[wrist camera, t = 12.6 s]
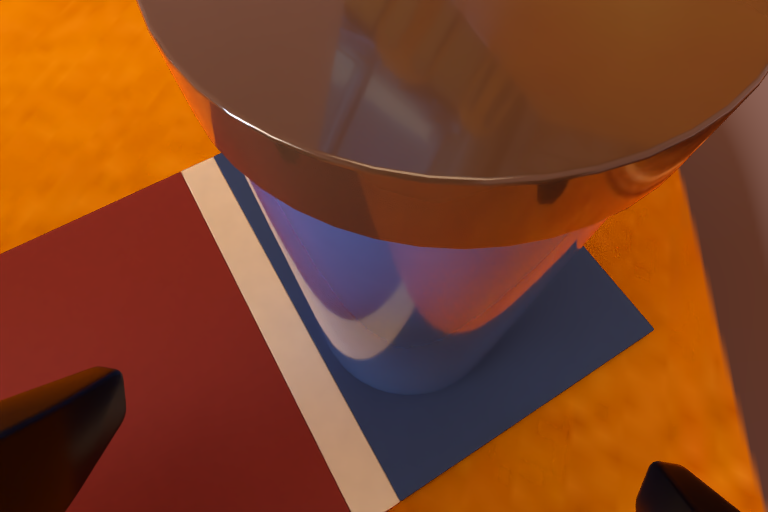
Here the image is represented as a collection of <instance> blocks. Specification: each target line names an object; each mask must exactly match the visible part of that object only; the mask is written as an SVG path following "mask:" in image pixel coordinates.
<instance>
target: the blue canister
mask: <svg viewBox="0 0 768 512" xmlns="http://www.w3.org/2000/svg"><path fill="white" fill-rule="evenodd" d="M136 2H137V4H138V7H139V9H140V12H141V14H142V17H143V19H144V22H145V24H146V26H147V29H148V31H149V33H150V35H151V37H152V39H153V41H154V42H155V44H156V46H157V48H158V50H159V52H160V53H161V55H162V57H163V59H164V61H165V62H166V64H167V66H168V68H169V70H170V72H171V73H172V75H173V77H174V79H175V81H176V82H177V84H178V86H179V88H180V90H181V92H182V93H183V95H184V97H185V99H186V101H187V102H188V104H189V106H190V108H191V110H192V112H193V113H194V115H195V117H196V118H197V120H198V121H199V123H200V124H201V126H202V128H203V129H204V131H205V132H206V134H207V135H208V137H209V138H210V140H211V142H212V143H213V144H214V145H215V146H216V147H217V148H218V149H219V150H220V151H221V153H222V154H223V155H224V156H225V157H226V158H227V159H228V160H229V161H230V163H231V164H232V165H233V166H234V167H235V168H237V169H238V170H239V171H240V172H241V173H243V174H244V175H245V177H246V179H247V181H248V183H249V185H250V187H251V189H252V191H253V193H254V195H255V197H256V200H257V202H258V204H259V206H260V208H261V210H262V212H263V214H264V216H265V218H266V220H267V222H268V224H269V226H270V228H271V230H272V232H273V234H274V236H275V238H276V240H277V242H278V244H279V246H280V248H281V250H282V252H283V254H284V256H285V259H286V261H287V263H288V265H289V267H290V269H291V271H292V273H293V275H294V277H295V279H296V281H297V283H298V285H299V287H300V289H301V291H302V293H303V295H304V297H305V299H306V301H307V303H308V305H309V307H310V309H311V311H312V313H313V315H314V318H315V320H316V322H317V324H318V326H319V328H320V330H321V332H322V334H323V336H324V338H325V340H326V342H327V344H328V346H329V348H330V350H331V351H332V353H333V354H334V356H335V358H336V359H337V360H338V361H339V362H340V364H341V365H342V366H343V367H344V368H345V369H346V370H347V371H348V372H349V373H351V374H352V375H353V376H354V377H356V378H357V379H359V380H360V381H362V382H363V383H365V384H367V385H369V386H371V387H373V388H376V389H379V390H381V391H384V392H388V393H393V394H399V395H421V394H427V393H432V392H436V391H439V390H442V389H444V388H447V387H449V386H451V385H453V384H455V383H457V382H458V381H460V380H461V379H463V378H464V377H465V376H467V375H468V374H469V373H470V372H471V371H472V370H473V369H474V368H475V367H476V366H477V365H478V364H479V363H480V362H481V361H482V360H483V358H484V357H485V356H486V355H487V354H488V353H489V352H490V351H491V349H492V348H493V347H494V346H495V345H496V344H497V343H498V341H499V340H500V339H501V338H502V337H503V336H504V335H505V334H506V332H507V331H508V330H509V329H510V328H511V327H512V326H513V325H514V323H515V322H516V321H517V320H518V319H519V318H520V317H521V316H522V314H523V313H524V312H525V311H526V310H527V309H528V308H529V306H530V305H531V304H532V303H533V302H534V301H535V300H536V299H537V297H538V296H539V295H540V294H541V293H542V292H543V291H544V290H545V288H546V287H547V286H548V285H549V284H550V283H551V282H552V281H553V279H554V278H555V277H556V276H557V275H558V274H559V273H560V271H561V270H562V269H563V268H564V267H565V266H566V265H567V264H568V262H569V261H570V260H571V259H572V258H573V257H574V256H575V255H576V253H577V252H578V251H579V250H580V249H581V248H582V247H583V246H584V244H585V243H586V242H587V241H588V240H589V239H590V238H591V236H592V235H593V234H594V233H595V232H596V231H597V230H598V229H599V227H600V226H601V225H602V224H603V223H604V222H605V221H606V220H607V218H608V217H610V216H612V215H614V214H616V213H618V212H620V211H622V210H625V209H627V208H628V207H630V206H631V205H633V204H634V203H636V202H637V201H639V200H640V199H642V198H643V197H644V196H646V195H647V194H649V193H650V192H652V191H653V190H655V189H656V188H658V187H659V186H660V185H661V184H662V183H663V182H664V181H665V180H666V179H667V178H668V177H669V176H670V175H671V174H673V173H674V172H675V171H676V170H677V169H678V168H679V167H680V166H681V165H682V164H683V163H684V162H685V161H686V160H687V159H688V158H689V157H690V155H692V154H693V153H694V151H696V150H697V149H698V148H699V147H700V146H701V145H702V144H703V142H704V141H705V140H706V139H707V138H708V137H709V136H710V135H711V134H712V133H713V132H714V131H715V130H716V129H717V128H718V127H719V126H720V125H721V124H722V123H723V122H724V121H725V120H726V119H727V118H728V117H729V116H730V115H731V114H732V113H733V112H734V111H735V110H736V109H737V108H738V107H739V106H740V104H741V103H742V102H743V101H744V100H745V99H746V98H747V97H748V96H749V95H750V94H751V93H752V92H753V91H754V90H755V89H756V88H757V87H758V86H759V84H760V83H761V82H762V80H763V79H764V77H765V76H766V75H767V73H768V0H136Z"/></svg>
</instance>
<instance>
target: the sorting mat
mask: <svg viewBox="0 0 768 512" xmlns="http://www.w3.org/2000/svg"><path fill="white" fill-rule="evenodd" d="M653 330H654V328H653V327H652V326H651V325H650V324H649V322H648V321H647V320H646V319H645V318H644V316H643V315H642V314H641V313H640V312H639V311H638V309H637V308H636V307H635V306H634V305H633V304H632V302H631V301H630V300H629V299H628V298H627V297H626V295H625V294H624V293H623V292H622V291H621V290H620V288H619V287H618V286H617V285H616V284H615V283H614V281H613V280H612V279H611V278H610V277H609V276H608V274H607V273H606V272H605V271H604V270H603V269H602V267H601V266H600V265H599V264H598V263H597V261H596V260H595V259H594V258H593V257H592V256H591V254H590V253H589V252H588V251H587V250H586V249H585V247H584V246H583V247H582V248H581V249H580V250H579V251H578V252H577V253H576V255H575V256H574V257H573V258H572V259H571V260H570V261H569V262H568V264H567V265H566V266H565V267H564V268H563V269H562V270H561V271H560V273H559V274H558V275H557V276H556V277H555V278H554V279H553V281H552V282H551V283H550V284H549V285H548V286H547V287H546V288H545V290H544V291H543V292H542V293H541V294H540V295H539V296H538V297H537V299H536V300H535V301H534V302H533V303H532V304H531V305H530V306H529V308H528V309H527V310H526V311H525V312H524V313H523V314H522V316H521V317H520V318H519V319H518V320H517V321H516V322H515V323H514V325H513V326H512V327H511V328H510V329H509V330H508V331H507V332H506V334H505V335H504V336H503V337H502V338H501V339H500V340H499V341H498V343H497V344H496V345H495V346H494V347H493V348H492V349H491V351H490V352H489V353H488V354H487V355H486V356H485V357H484V358H483V360H482V361H481V362H480V363H479V364H478V365H477V366H476V367H475V368H474V369H473V370H472V371H471V372H470V373H469V374H468V375H467V376H465V377H464V378H463V379H461V380H460V381H458V382H457V383H455V384H453V385H451V386H449V387H447V388H444V389H442V390H439V391H436V392H432V393H427V394H421V395H399V394H393V393H388V392H384V391H381V390H379V389H376V388H373V387H371V386H369V385H367V384H365V383H363V382H362V381H360V380H359V379H357V378H356V377H354V376H353V375H352V374H351V373H349V372H348V371H347V370H346V369H345V368H344V367H343V366H342V365H341V364H340V362H339V361H338V360H337V359H336V358H335V356H334V354H333V353H332V351H331V350H330V348H329V346H328V344H327V342H326V340H325V338H324V336H323V334H322V332H321V330H320V328H319V326H318V324H317V322H316V320H315V318H314V315H313V313H312V311H311V309H310V307H309V305H308V303H307V301H306V299H305V297H304V295H303V293H302V291H301V289H300V287H299V285H298V283H297V281H296V279H295V277H294V275H293V273H292V271H291V269H290V267H289V265H288V263H287V261H286V259H285V256H284V254H283V252H282V250H281V248H280V246H279V244H278V242H277V240H276V238H275V236H274V234H273V232H272V230H271V228H270V226H269V224H268V222H267V220H266V218H265V216H264V214H263V212H262V210H261V208H260V206H259V204H258V202H257V200H256V197H255V195H254V193H253V191H252V189H251V187H250V185H249V183H248V181H247V179H246V177H245V175H244V174H243V173H241V172H240V171H239V170H238V169H237V168H235V167H234V166H233V165H232V164H231V163H230V161H229V160H228V159H227V158H226V157H225V156H224V155H223V154H222V153H220V154H218V155H216V156H214V157H212V158H209V159H207V160H205V161H203V162H201V163H198V164H196V165H194V166H192V167H190V168H188V169H185V170H183V171H181V172H179V173H177V174H174V175H172V176H170V177H168V178H166V179H164V180H161V181H159V182H157V183H155V184H153V185H150V186H148V187H146V188H144V189H142V190H140V191H137V192H135V193H133V194H131V195H129V196H126V197H124V198H122V199H120V200H118V201H116V202H113V203H111V204H109V205H107V206H105V207H102V208H100V209H98V210H96V211H94V212H92V213H89V214H87V215H85V216H83V217H81V218H78V219H76V220H74V221H72V222H70V223H68V224H65V225H63V226H61V227H59V228H57V229H54V230H52V231H50V232H48V233H46V234H44V235H41V236H39V237H37V238H35V239H33V240H30V241H28V242H26V243H24V244H22V245H20V246H17V247H15V248H13V249H11V250H9V251H6V252H4V253H2V254H0V400H3V399H6V398H8V397H11V396H14V395H17V394H20V393H22V392H25V391H28V390H31V389H33V388H36V387H39V386H42V385H45V384H47V383H50V382H53V381H56V380H58V379H61V378H64V377H67V376H70V375H72V374H75V373H78V372H81V371H83V370H86V369H89V368H92V367H95V366H102V367H108V368H114V369H118V370H119V371H121V373H122V374H123V378H124V388H125V397H126V414H125V418H124V420H123V422H122V424H121V426H120V427H119V429H118V430H117V432H116V434H115V435H114V437H113V438H112V440H111V442H110V443H109V445H108V446H107V448H106V449H105V451H104V453H103V454H102V456H101V457H100V459H99V461H98V462H97V464H96V465H95V467H94V469H93V470H92V472H91V473H90V475H89V477H88V478H87V480H86V481H85V483H84V485H83V486H82V488H81V489H80V491H79V492H78V494H77V495H76V497H75V498H74V500H73V501H72V503H71V504H70V506H69V507H68V508H67V510H66V511H65V512H386V511H387V510H389V509H390V508H392V507H393V506H395V505H396V504H398V503H399V502H400V501H402V500H403V499H405V498H406V497H408V496H409V495H411V494H412V493H414V492H415V491H417V490H418V489H420V488H421V487H423V486H424V485H426V484H427V483H429V482H430V481H431V480H433V479H434V478H436V477H437V476H439V475H440V474H442V473H443V472H445V471H446V470H448V469H449V468H451V467H452V466H454V465H455V464H457V463H458V462H460V461H461V460H463V459H464V458H465V457H467V456H468V455H470V454H471V453H473V452H474V451H476V450H477V449H479V448H480V447H482V446H483V445H485V444H486V443H488V442H489V441H491V440H492V439H494V438H495V437H497V436H498V435H499V434H501V433H502V432H504V431H505V430H507V429H508V428H510V427H511V426H513V425H514V424H516V423H517V422H519V421H520V420H522V419H523V418H525V417H526V416H528V415H529V414H530V413H532V412H533V411H535V410H536V409H538V408H539V407H541V406H542V405H544V404H545V403H547V402H548V401H550V400H551V399H553V398H554V397H556V396H557V395H559V394H560V393H562V392H563V391H564V390H566V389H567V388H569V387H570V386H572V385H573V384H575V383H576V382H578V381H579V380H581V379H582V378H584V377H585V376H587V375H588V374H590V373H591V372H593V371H594V370H595V369H597V368H598V367H600V366H601V365H603V364H604V363H606V362H607V361H609V360H610V359H612V358H613V357H615V356H616V355H618V354H619V353H621V352H622V351H624V350H625V349H627V348H628V347H629V346H631V345H632V344H634V343H635V342H637V341H638V340H640V339H641V338H643V337H644V336H646V335H647V334H649V333H650V332H652V331H653Z"/></svg>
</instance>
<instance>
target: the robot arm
mask: <svg viewBox="0 0 768 512" xmlns="http://www.w3.org/2000/svg"><path fill="white" fill-rule="evenodd" d="M125 414H126V397H125V388H124V378H123V374H122V373H121V371H119V370H118V369H114V368H108V367H102V366H95V367H92V368H89V369H86V370H83V371H81V372H78V373H75V374H72V375H70V376H67V377H64V378H61V379H58V380H56V381H53V382H50V383H47V384H45V385H42V386H39V387H36V388H33V389H31V390H28V391H25V392H22V393H20V394H17V395H14V396H11V397H8V398H6V399H3V400H0V512H65V511H66V510H67V508H68V507H69V506H70V504H71V503H72V501H73V500H74V498H75V497H76V495H77V494H78V492H79V491H80V489H81V488H82V486H83V485H84V483H85V481H86V480H87V478H88V477H89V475H90V473H91V472H92V470H93V469H94V467H95V465H96V464H97V462H98V461H99V459H100V457H101V456H102V454H103V453H104V451H105V449H106V448H107V446H108V445H109V443H110V442H111V440H112V438H113V437H114V435H115V434H116V432H117V430H118V429H119V427H120V426H121V424H122V422H123V420H124V418H125ZM636 512H740V511H739V510H738V509H736V508H735V507H734V506H733V505H731V504H730V503H729V502H728V501H726V500H725V499H724V498H723V497H721V496H720V495H719V494H717V493H716V492H715V491H714V490H712V489H711V488H710V487H709V486H707V485H706V484H705V483H704V482H702V481H701V480H700V479H699V478H697V477H696V476H695V475H693V474H692V473H691V472H690V471H688V470H687V469H686V468H684V467H683V466H681V465H678V464H672V463H667V462H661V461H656V462H653V463H652V464H651V465H650V466H649V468H648V471H647V473H646V476H645V478H644V481H643V483H642V486H641V488H640V491H639V493H638V496H637V499H636Z"/></svg>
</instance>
